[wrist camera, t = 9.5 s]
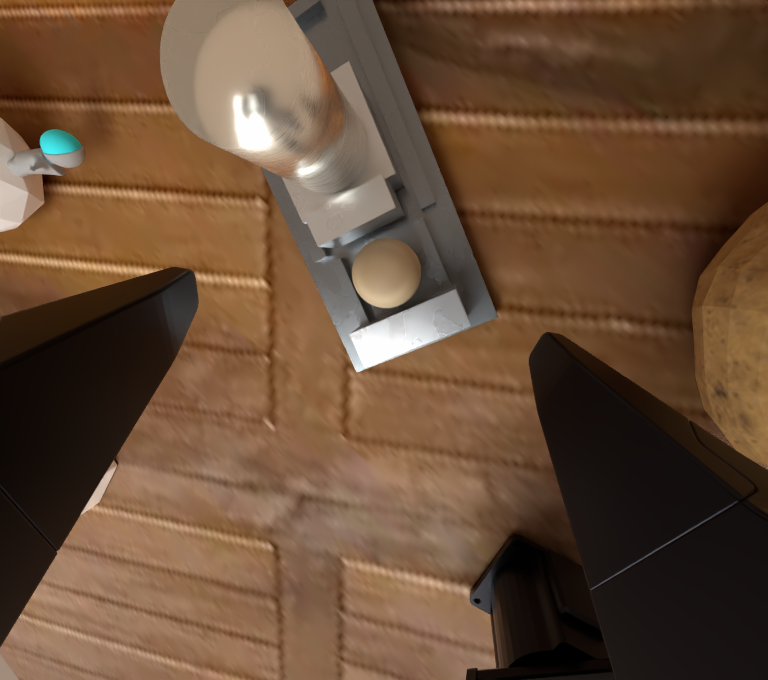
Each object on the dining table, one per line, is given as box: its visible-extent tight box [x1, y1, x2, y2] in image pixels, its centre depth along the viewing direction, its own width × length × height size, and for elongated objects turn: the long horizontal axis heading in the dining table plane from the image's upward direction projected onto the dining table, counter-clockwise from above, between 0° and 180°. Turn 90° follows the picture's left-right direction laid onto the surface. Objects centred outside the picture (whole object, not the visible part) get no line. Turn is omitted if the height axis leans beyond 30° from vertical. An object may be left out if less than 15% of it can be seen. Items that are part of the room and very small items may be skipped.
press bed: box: [261, 0, 498, 372], centre depth 19 cm, size 19×9×4 cm, turn 24°
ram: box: [160, 0, 404, 248], centre depth 14 cm, size 6×5×10 cm
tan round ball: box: [352, 238, 421, 308], centre depth 18 cm, size 4×4×4 cm
